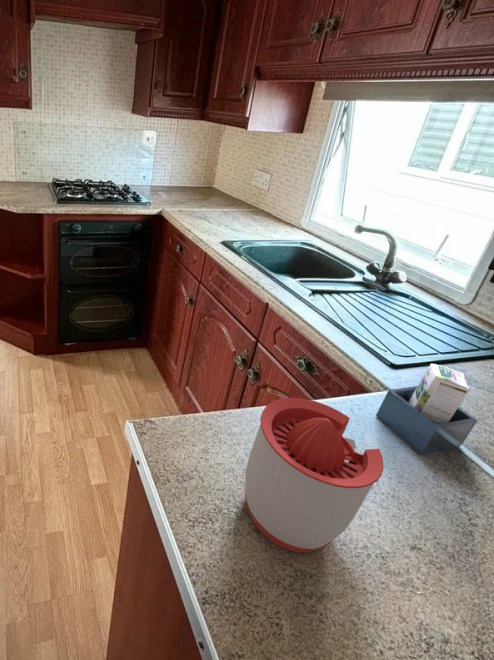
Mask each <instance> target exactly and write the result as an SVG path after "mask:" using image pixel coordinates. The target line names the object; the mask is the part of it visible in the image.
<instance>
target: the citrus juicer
mask: <svg viewBox="0 0 494 660" xmlns="http://www.w3.org/2000/svg"><path fill="white" fill-rule="evenodd" d="M350 419H351V417H349V416H348V415H347V414H344V413H343V412H341V411H340V410H338V409H335V408H333V407H332V406H329V405H327V404H325V403H322V402H320V401H316V400H311V399H308V398H302V397H283V398H279V399H276V400H273V401H271V402H270V403H268V404H267V405H266V406H265V408H264V409H263V410H262V411H261V414H260V423H259V427H258V430H257V433H256V436H255V439H254V441H253V443H252V446H251V450H250V452H249V457H248V460H247V464H246V466H245V467H246V468H245V477H244V481H245V482H244V489H245V490H244V498H245V502H246V506H247V507H246V508H247V510H248V511H247V512H248V514H249V516H250V519H251V520H252V522H253V524H254V525H255V527H256V528H257V530H259V531H260V533H261V534H262V535H263V536H264V537H266V539H268V540H269V541H271V542H272V543H273V544H275V545H276V546H278V547H281V548H283V550H284V549H285V550H287V551H291V552H295V553H299V554H302V553H310V552H314V551H317V550H320V549H323V548H325V547H326V546H328V545H329V544H330V543H331V542H332V541H334V540H335V539H337V538H338V537H340V536H341V534H343V533H344V532H345V531H346V529H348V527H349V525H350V524H351V523H352V521H353V520H354V519H355V517H356V515H357V514H358V512H359V510H360V508H361V507H362V505H363V503H364V501H365V500H366V497H368V494H369V492H370V491H371V489H372V487H373V485H374V484H375V483H376V482H378V481H379V479H380V478H381V477H382V475H383V471H384V467H385V466H384V457H383V455H382V452H381V450H380V448H369V449H367V448H366V449H365V450H364V452H361V451H360V449H359V448H358V447H357V446H356V441H355V440H354V439H353V438H351V437H350V438H349V437H344V434H345V431H346V428H347V426H348V424H349V421H350Z"/></svg>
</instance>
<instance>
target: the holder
mask: <svg viewBox="0 0 494 660" xmlns="http://www.w3.org/2000/svg"><path fill="white" fill-rule="evenodd" d="M417 386H418V385H414V386H408V387H400V388H392V389H388V391H387V393H386V394H385V396H384V398H383V401H382V402H381V404H380V406H379V408H378V410H377V412H376V414H375V417H377V418H378V419H379V420H380V421H381V422H382V423H384V424H385V426H387V427H388V428H389V429H390V430H391V431H392V432H394V433H395V434H396V435H397V436H399V438H400V439H402V440H403V441H404V442H405V443H406V444H407V445H408V446H409V447H410V448H412V449H413V450H414V451H415V452H416V453H417V454H418V455H420V456H424V455H428V454H429V455H430V454H433V453H439V452H443V451H448V450H452V449H453V450H454V449H458V448H461V447H462V445H463V444H464V442H465V441H466V439H467V438H468V436H469V435H470V433H471V432H472V430H474V427H475V426H476V424H477V423H478V420H477V419H476V418H475V417H473V416H472V415H470V414H469V413H468V412H467V411H464V410H463V409H462V408H461V407H460V406H459V407H458V408H457V410H456V411H455V413H454V414H453V416H452V418H451V419H450V421H449V422H448V423H443V424H438V425H436V424H435V423H434V422H432V421H431V420H430V419H428V418H427V417H426V416H425V415H423V414H422V413H421V412H420V411H418V410H417V409H416V408H414V407H413V406H412V405H411V404H409V403H408V402H409V400H410V398H411V397H412V395H413V393H414V392H415V390H416V388H417Z"/></svg>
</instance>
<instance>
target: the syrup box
mask: <svg viewBox="0 0 494 660" xmlns="http://www.w3.org/2000/svg"><path fill="white" fill-rule="evenodd" d="M416 386H417V388H416V390H415V392H414V393H413V395H412V397H411V398H410V400H409V402H408V403H409V404H411V405H412V406H413V407H414V408H416V409H417V410H418V411H420V412H421V413H422V414H423V415H425V416H426V417H427V418H428V419H430V420H431V421H432V422H434V423H435V424H436V425H438V424H443V423H448V422H449V421H450V419H451V418H452V416H453V414H454V413H455V411H456V410H457V408H458V407H459V408H460V406H461V404H462V402H463V400H465V397H466V396H467V394H468V393H469V391H470V390H471V389H470V387H469V384H468V381H467V378H466V376H465V374H464V373H463V372H460V371H457V370H455V369H452V368H450V367H447V366H443V365H440V364H436V363H430V364H429V366H428V368H427V370H426V371H425V373H424V375H423V376H422V377H421V380H420V381H419V383H418V385H416Z"/></svg>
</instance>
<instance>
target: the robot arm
mask: <svg viewBox="0 0 494 660" xmlns="http://www.w3.org/2000/svg"><path fill="white" fill-rule="evenodd" d="M487 270H490V271H493V273H492V274H491V276H490V278H489V283H491V284H494V256H493V257H492V259H491V261H490V262H489V264H488V266H487Z"/></svg>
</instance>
